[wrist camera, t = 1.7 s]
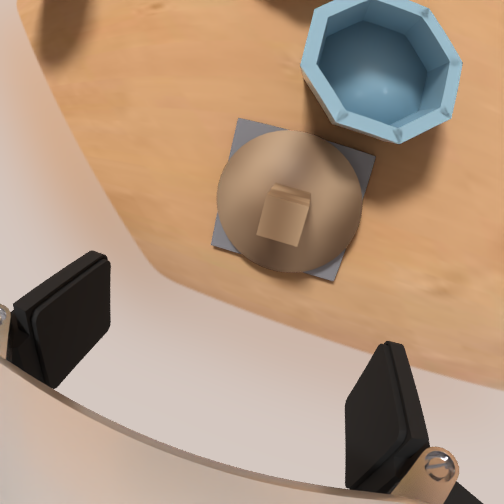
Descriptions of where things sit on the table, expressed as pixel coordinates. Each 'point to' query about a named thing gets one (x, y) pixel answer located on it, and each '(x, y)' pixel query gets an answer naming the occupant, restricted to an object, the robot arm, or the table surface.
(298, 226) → the lid
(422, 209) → the table surface
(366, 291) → the table surface
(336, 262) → the mat
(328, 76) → the bowl
